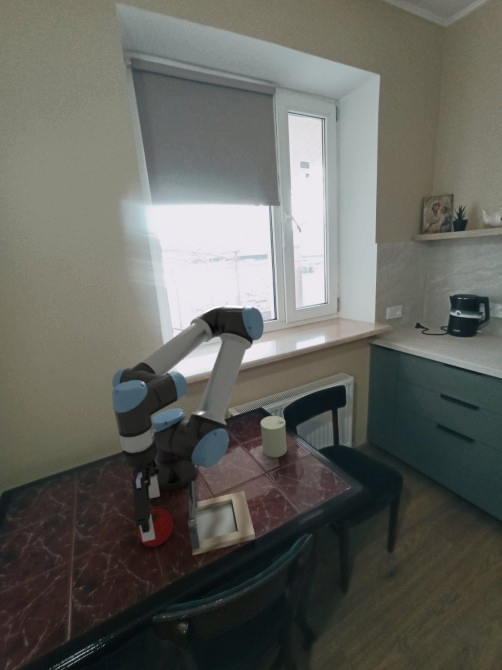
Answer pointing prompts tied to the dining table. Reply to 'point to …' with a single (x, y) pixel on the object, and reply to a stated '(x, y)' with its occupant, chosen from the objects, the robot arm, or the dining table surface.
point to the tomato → (159, 527)
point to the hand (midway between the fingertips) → (152, 516)
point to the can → (273, 436)
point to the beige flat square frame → (223, 522)
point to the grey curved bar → (193, 516)
